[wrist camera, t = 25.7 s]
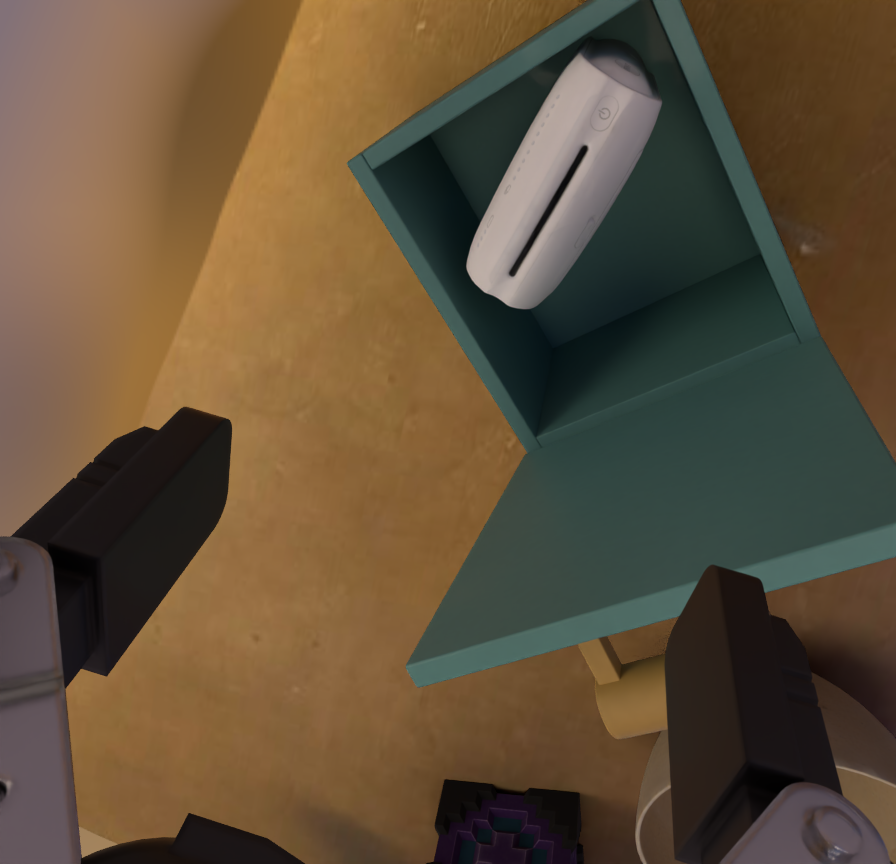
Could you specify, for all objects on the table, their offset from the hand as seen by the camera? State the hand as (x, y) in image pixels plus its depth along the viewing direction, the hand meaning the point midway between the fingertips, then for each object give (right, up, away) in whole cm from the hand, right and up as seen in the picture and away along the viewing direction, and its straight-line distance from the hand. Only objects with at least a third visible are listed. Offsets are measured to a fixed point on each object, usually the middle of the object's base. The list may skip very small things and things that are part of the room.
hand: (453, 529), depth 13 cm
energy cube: (+6, -35, +58) cm, 68 cm away
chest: (+8, +15, +28) cm, 32 cm away
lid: (+7, 0, +14) cm, 15 cm away
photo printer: (+6, +16, +26) cm, 31 cm away
